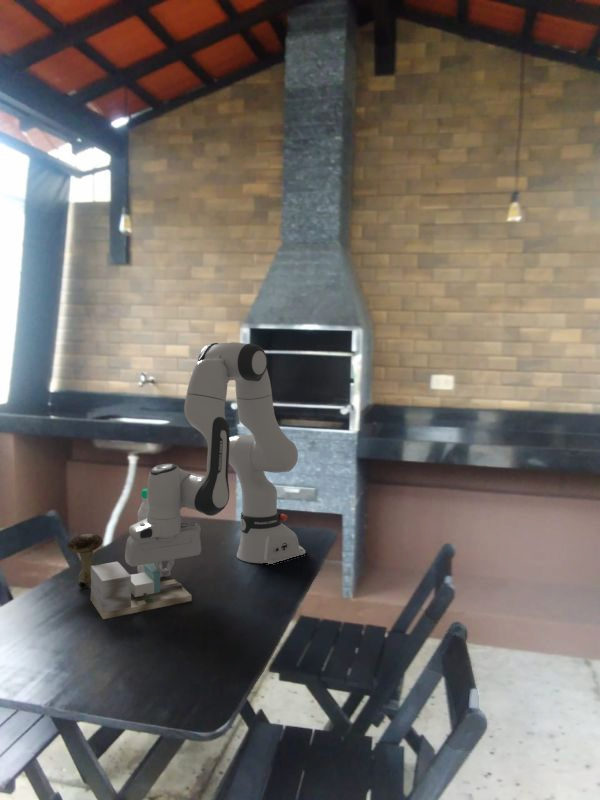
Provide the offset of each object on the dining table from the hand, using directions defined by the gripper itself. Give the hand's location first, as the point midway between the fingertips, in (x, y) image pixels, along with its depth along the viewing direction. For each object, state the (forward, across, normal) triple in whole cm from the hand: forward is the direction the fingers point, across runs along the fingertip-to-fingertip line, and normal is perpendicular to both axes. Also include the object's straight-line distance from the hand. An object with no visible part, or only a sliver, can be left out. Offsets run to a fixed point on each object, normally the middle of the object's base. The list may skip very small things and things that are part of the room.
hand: (164, 576), depth 167 cm
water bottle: (+6, -2, -19) cm, 20 cm away
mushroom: (+6, +17, -16) cm, 24 cm away
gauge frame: (+6, +6, 0) cm, 8 cm away
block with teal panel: (+3, +6, +1) cm, 6 cm away
